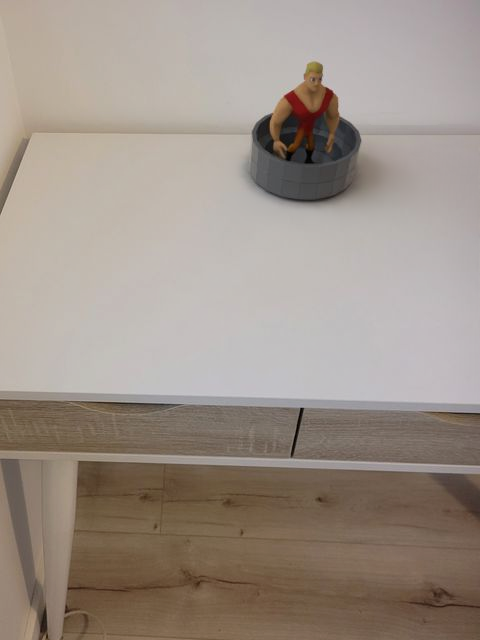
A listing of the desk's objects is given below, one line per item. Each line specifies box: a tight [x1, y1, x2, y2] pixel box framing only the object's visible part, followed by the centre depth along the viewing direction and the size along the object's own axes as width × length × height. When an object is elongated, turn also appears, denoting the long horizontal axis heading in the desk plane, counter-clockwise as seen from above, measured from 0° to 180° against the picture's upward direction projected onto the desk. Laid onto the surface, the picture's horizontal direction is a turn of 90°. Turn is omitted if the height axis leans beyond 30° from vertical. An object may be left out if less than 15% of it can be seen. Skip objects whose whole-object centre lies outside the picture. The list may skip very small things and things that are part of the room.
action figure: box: [270, 61, 341, 164], centre depth 78 cm, size 10×4×15 cm, turn 101°
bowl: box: [248, 112, 362, 200], centre depth 83 cm, size 14×14×6 cm
